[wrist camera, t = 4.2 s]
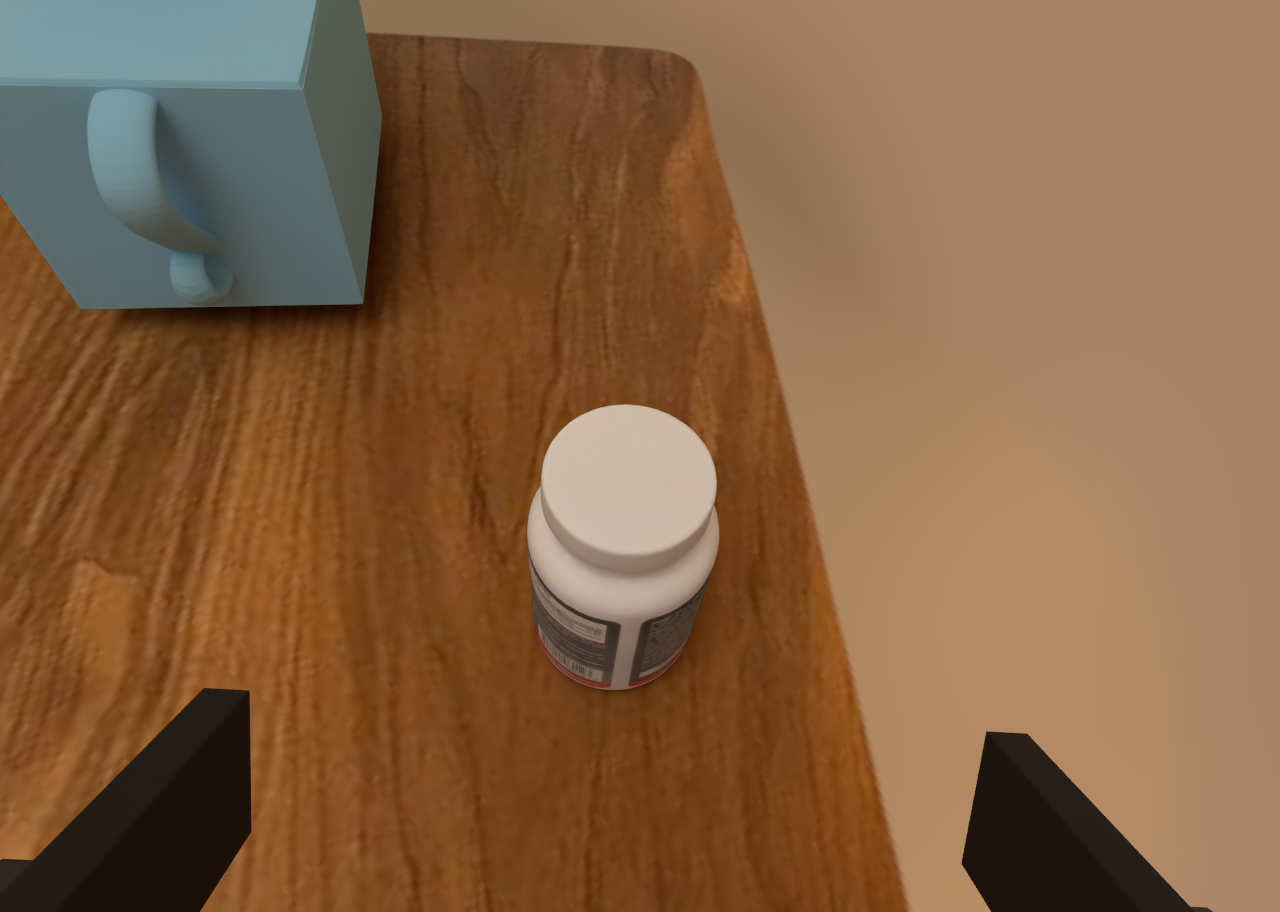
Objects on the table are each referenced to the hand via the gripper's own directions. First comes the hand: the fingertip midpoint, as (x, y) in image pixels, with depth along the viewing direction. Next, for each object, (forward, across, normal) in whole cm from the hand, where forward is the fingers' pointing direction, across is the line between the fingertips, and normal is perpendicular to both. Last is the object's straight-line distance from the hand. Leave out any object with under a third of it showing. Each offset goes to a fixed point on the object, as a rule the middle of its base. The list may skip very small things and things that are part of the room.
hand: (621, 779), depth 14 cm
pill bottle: (+15, 0, -3) cm, 15 cm away
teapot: (+29, -18, +11) cm, 36 cm away
